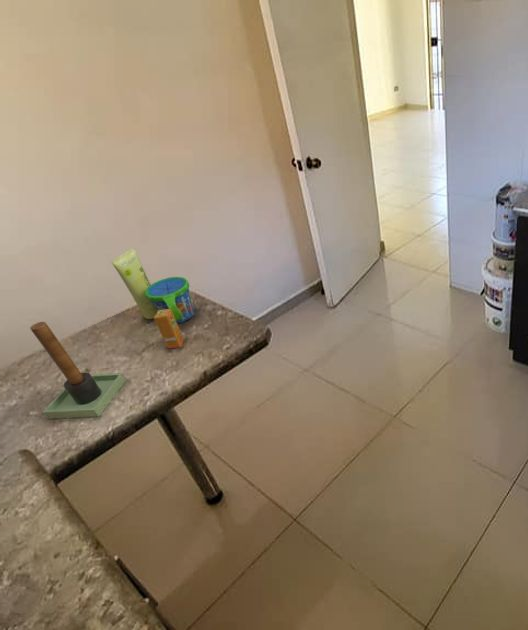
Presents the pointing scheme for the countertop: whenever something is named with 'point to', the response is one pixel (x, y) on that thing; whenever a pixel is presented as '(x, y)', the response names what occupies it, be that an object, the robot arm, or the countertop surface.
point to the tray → (70, 409)
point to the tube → (135, 281)
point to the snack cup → (172, 297)
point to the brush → (67, 367)
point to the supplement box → (169, 328)
